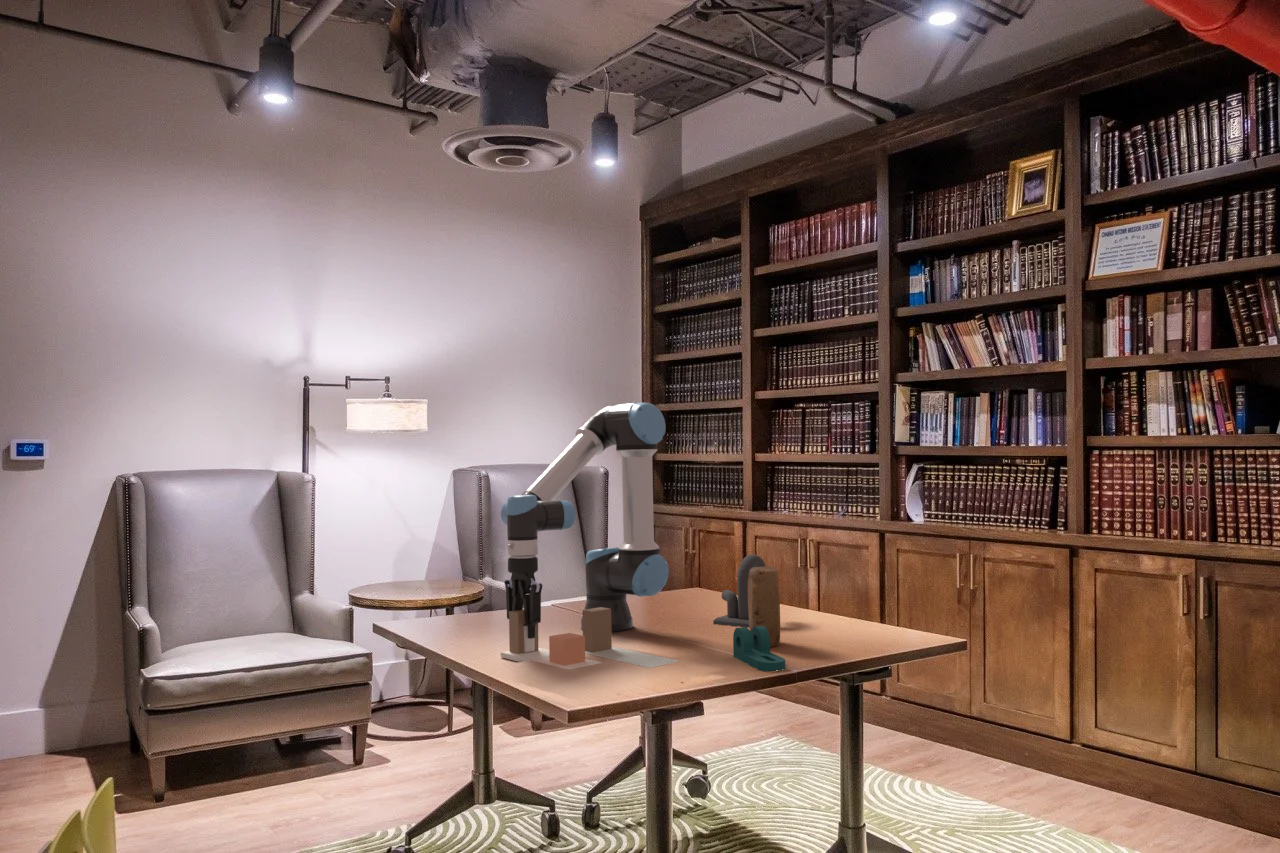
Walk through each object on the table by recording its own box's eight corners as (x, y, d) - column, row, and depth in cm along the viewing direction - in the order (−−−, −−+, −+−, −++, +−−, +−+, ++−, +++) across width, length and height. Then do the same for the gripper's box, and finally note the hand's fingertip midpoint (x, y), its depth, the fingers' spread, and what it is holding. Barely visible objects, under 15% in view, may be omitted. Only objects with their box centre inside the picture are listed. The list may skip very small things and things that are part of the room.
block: (782, 647, 246) (780, 569, 247) (753, 648, 246) (751, 570, 247) (774, 639, 257) (773, 564, 258) (746, 640, 257) (745, 565, 258)
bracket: (733, 657, 237) (732, 625, 237) (758, 655, 238) (758, 623, 239) (763, 673, 219) (762, 638, 219) (790, 671, 221) (789, 636, 221)
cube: (549, 661, 228) (549, 636, 228) (569, 657, 232) (569, 632, 232) (564, 665, 224) (564, 639, 224) (585, 661, 228) (584, 636, 228)
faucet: (791, 621, 286) (790, 553, 286) (767, 629, 273) (766, 558, 273) (737, 616, 296) (736, 551, 296) (712, 624, 283) (710, 555, 283)
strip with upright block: (574, 655, 241) (573, 610, 241) (605, 649, 247) (604, 605, 248) (649, 673, 220) (648, 623, 220) (680, 666, 226) (679, 618, 227)
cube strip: (500, 657, 240) (500, 611, 241) (533, 651, 247) (533, 607, 247) (568, 674, 219) (567, 625, 220) (602, 667, 226) (601, 620, 226)
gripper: (491, 555, 246) (492, 647, 245) (529, 560, 233) (531, 657, 233) (516, 553, 251) (517, 643, 250) (554, 557, 238) (556, 652, 238)
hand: (523, 649), depth 242 cm, fingers closed on cube strip, 4 cm apart
